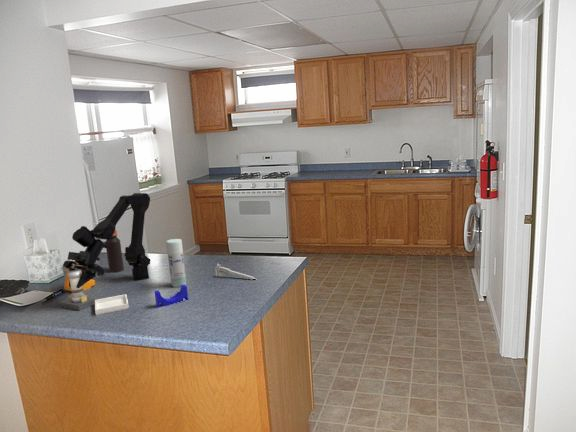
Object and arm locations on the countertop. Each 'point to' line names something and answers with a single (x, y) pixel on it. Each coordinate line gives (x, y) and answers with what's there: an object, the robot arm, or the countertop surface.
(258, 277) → the countertop surface
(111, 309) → the tray
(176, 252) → the spray paint can
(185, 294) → the cable clip
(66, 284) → the bracket
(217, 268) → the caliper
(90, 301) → the fuse block
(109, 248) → the bottle
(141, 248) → the robot arm
